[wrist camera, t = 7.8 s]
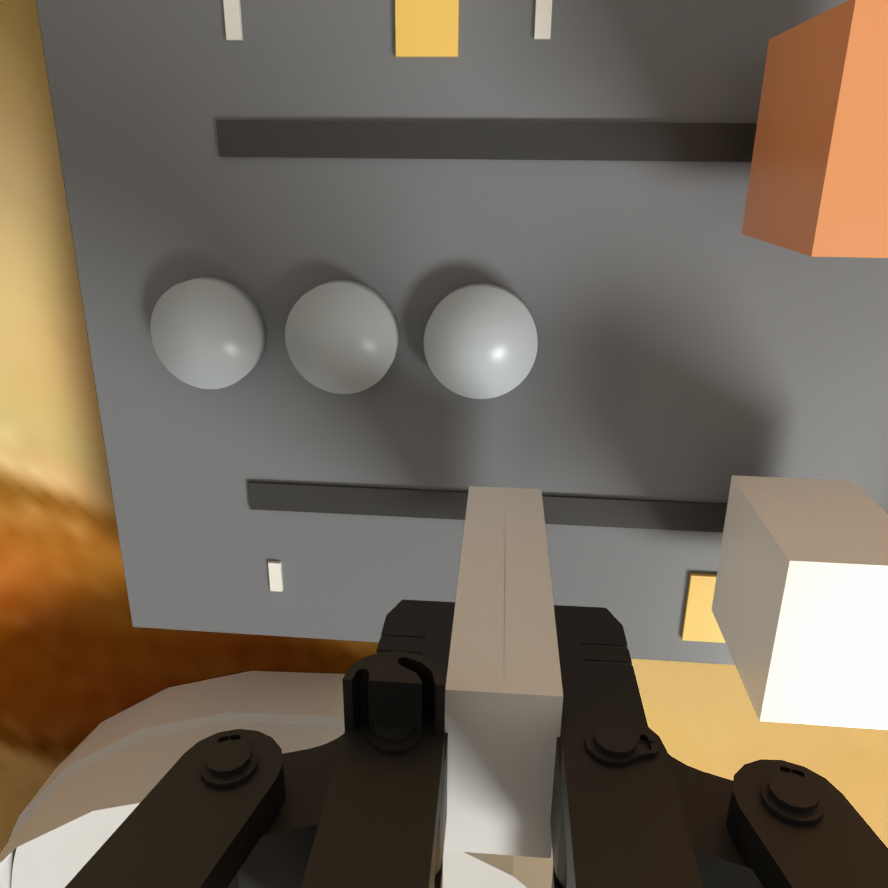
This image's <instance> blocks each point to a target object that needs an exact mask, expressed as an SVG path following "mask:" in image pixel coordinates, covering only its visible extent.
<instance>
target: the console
mask: <svg viewBox="0 0 888 888" xmlns="http://www.w3.org/2000/svg"><path fill="white" fill-rule="evenodd" d="M846 1H848V0H36V4H37V10H38V17H39V23H40V30H41V36H42V43H43V49H44V56H45V62H46V69H47V75H48V82H49V88H50V94H51V101H52V107H53V114H54V120H55V127H56V133H57V140H58V146H59V153H60V159H61V166H62V172H63V179H64V185H65V192H66V198H67V204H68V211H69V217H70V224H71V230H72V237H73V243H74V250H75V256H76V263H77V269H78V276H79V282H80V289H81V295H82V301H83V308H84V314H85V321H86V327H87V334H88V340H89V347H90V353H91V360H92V366H93V373H94V379H95V386H96V392H97V399H98V405H99V411H100V418H101V424H102V431H103V437H104V444H105V450H106V457H107V463H108V470H109V476H110V483H111V489H112V496H113V502H114V508H115V515H116V521H117V528H118V534H119V541H120V547H121V554H122V560H123V567H124V573H125V580H126V586H127V593H128V599H129V606H130V612H131V618H132V625H133V627H142V628H158V629H174V630H189V631H205V632H221V633H237V634H253V635H269V636H284V637H300V638H316V639H332V640H348V641H363V642H379V640H380V638H381V633H382V629H383V625H384V622H385V618H386V615H387V614H388V613H389V612H390V611H391V610H392V609H393V608H394V607H395V606H396V605H397V604H398V603H399V602H400V601H401V600H422V601H442V602H456V594H457V585H458V577H459V568H460V560H461V551H462V543H463V534H464V525H465V517H466V508H467V500H468V491H469V486H481V487H506V488H531V489H541V490H542V499H543V509H544V518H545V528H546V537H547V547H548V556H549V566H550V575H551V585H552V594H553V604H554V605H563V606H583V607H603V608H607V609H608V610H609V611H610V612H611V613H612V615H613V616H614V617H615V618H616V619H617V620H618V621H619V622H620V623H621V624H622V625H623V629H624V633H625V637H626V641H627V645H628V649H629V653H630V657H631V658H632V659H648V660H664V661H680V662H696V663H711V664H727V665H735V663H734V661H733V658H732V656H731V654H730V651H729V649H728V647H727V644H726V642H725V640H724V637H723V635H722V633H721V630H720V628H719V626H718V623H717V621H716V619H715V617H714V614H713V612H712V610H711V609H712V603H713V596H714V589H715V583H716V576H717V570H718V563H719V557H720V550H721V543H722V537H723V530H724V524H725V517H726V511H727V504H728V497H729V491H730V484H731V478H732V475H735V476H758V477H781V478H804V479H827V480H851V481H854V482H855V483H856V484H857V485H858V486H859V487H860V488H861V489H862V490H863V491H865V492H866V493H867V494H868V495H869V496H870V497H871V498H872V499H873V500H874V501H875V502H876V503H877V504H878V505H879V506H880V507H881V508H882V509H883V510H884V511H886V512H887V513H888V258H860V257H811V256H808V255H805V254H802V253H799V252H796V251H793V250H789V249H786V248H783V247H780V246H777V245H774V244H771V243H768V242H765V241H762V240H758V239H755V238H752V237H749V236H746V235H743V234H742V227H743V220H744V213H745V206H746V199H747V192H748V185H749V177H750V170H751V163H752V156H753V149H754V142H755V135H756V128H757V120H758V113H759V106H760V99H761V92H762V85H763V78H764V70H765V63H766V56H767V49H768V42H769V39H771V38H773V37H775V36H777V35H779V34H781V33H783V32H785V31H787V30H789V29H791V28H793V27H795V26H797V25H799V24H802V23H804V22H806V21H808V20H810V19H812V18H814V17H816V16H818V15H820V14H822V13H824V12H826V11H828V10H830V9H832V8H834V7H836V6H838V5H840V4H842V3H844V2H846Z"/></svg>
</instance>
